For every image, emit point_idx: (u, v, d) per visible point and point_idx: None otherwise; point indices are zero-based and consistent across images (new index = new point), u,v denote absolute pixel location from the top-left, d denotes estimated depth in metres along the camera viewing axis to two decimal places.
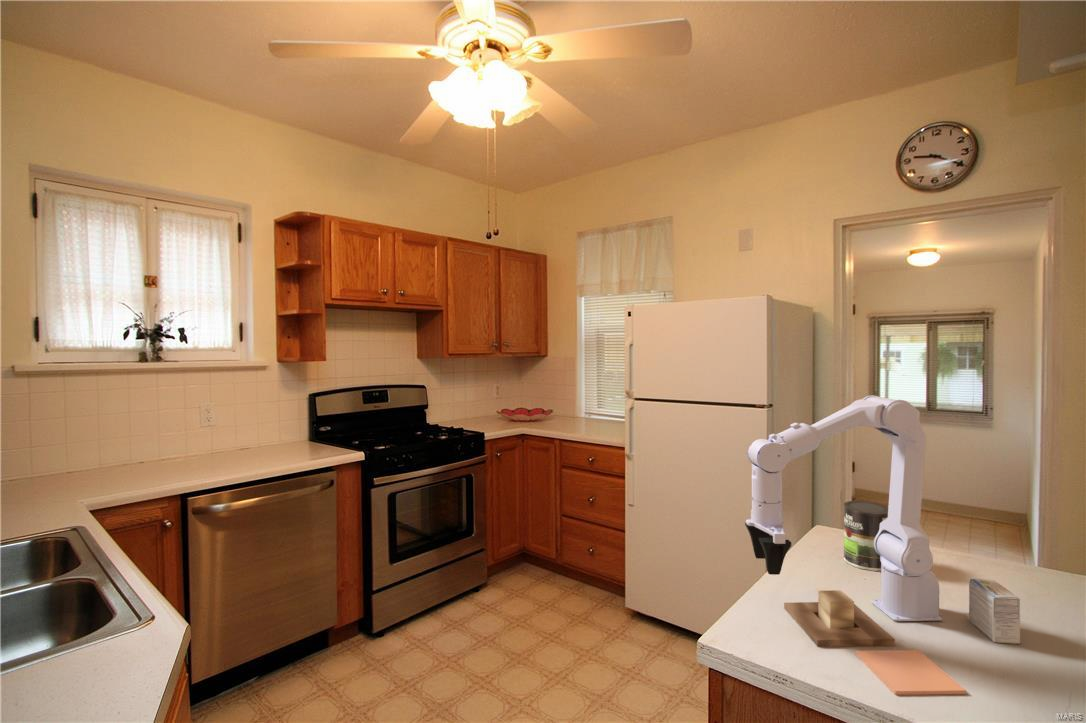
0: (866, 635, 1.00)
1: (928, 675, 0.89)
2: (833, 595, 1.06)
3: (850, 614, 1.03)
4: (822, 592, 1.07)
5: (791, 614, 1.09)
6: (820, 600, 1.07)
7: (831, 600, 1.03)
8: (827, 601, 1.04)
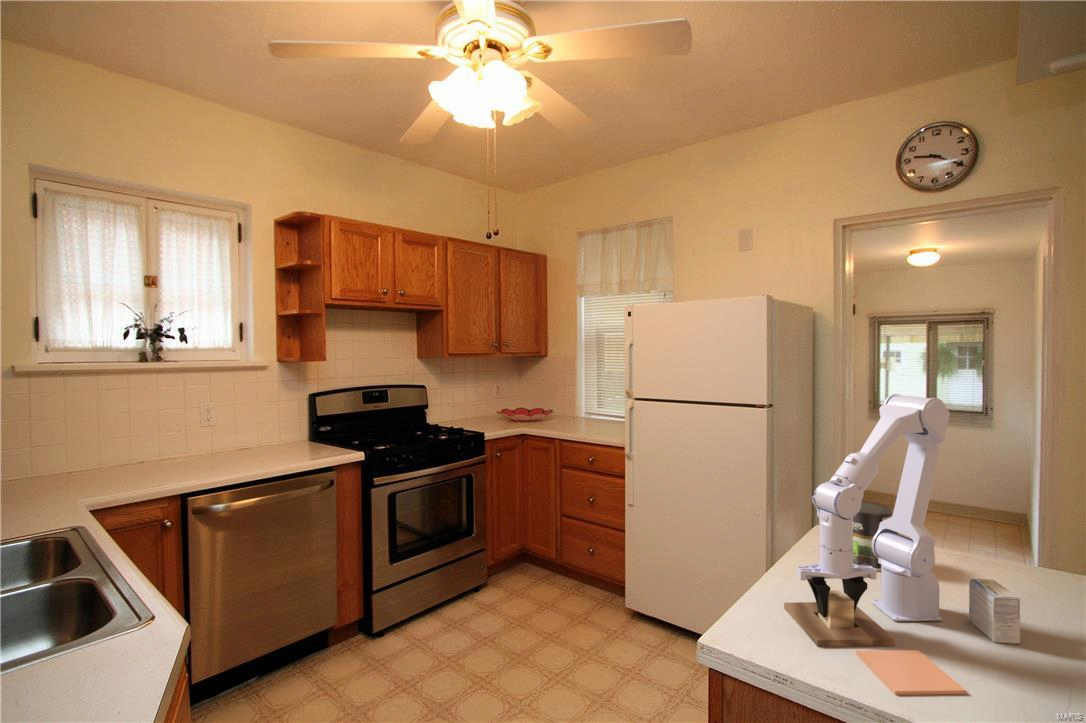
0: (866, 635, 1.00)
1: (928, 675, 0.89)
2: (833, 594, 1.06)
3: (850, 614, 1.03)
4: None
5: (791, 614, 1.09)
6: None
7: (831, 600, 1.03)
8: None
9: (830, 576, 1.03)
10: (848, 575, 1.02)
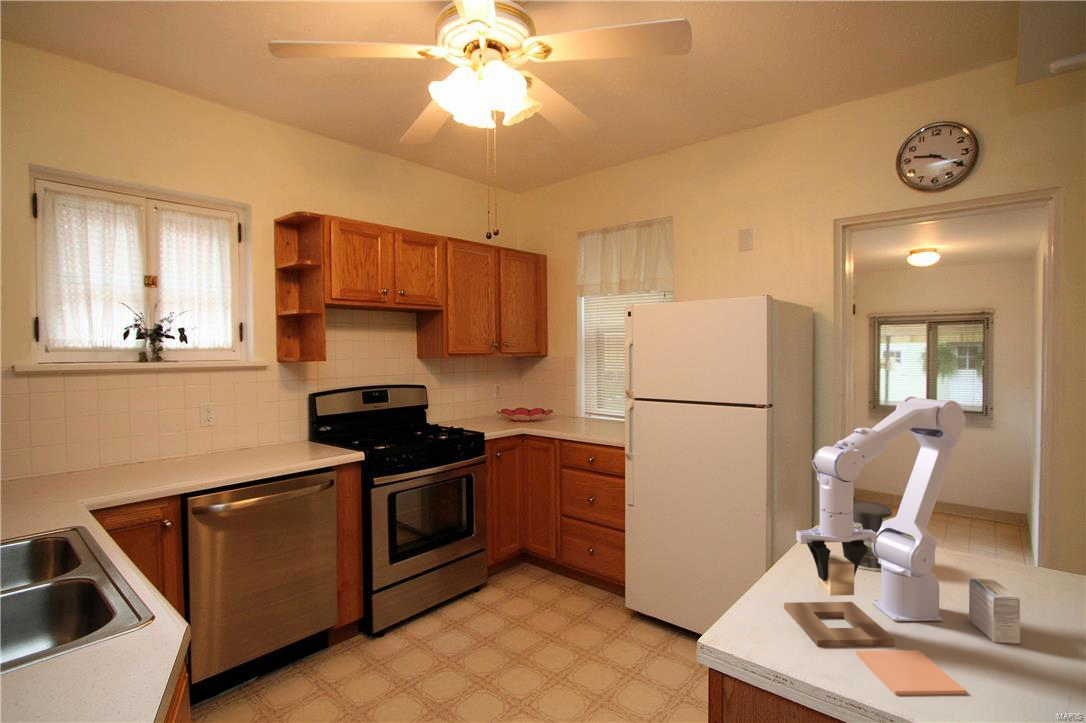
0: (866, 635, 1.00)
1: (928, 675, 0.89)
2: (833, 559, 1.05)
3: (850, 577, 1.03)
4: None
5: (791, 614, 1.09)
6: None
7: (831, 563, 1.03)
8: None
9: (830, 539, 1.02)
10: (848, 537, 1.02)
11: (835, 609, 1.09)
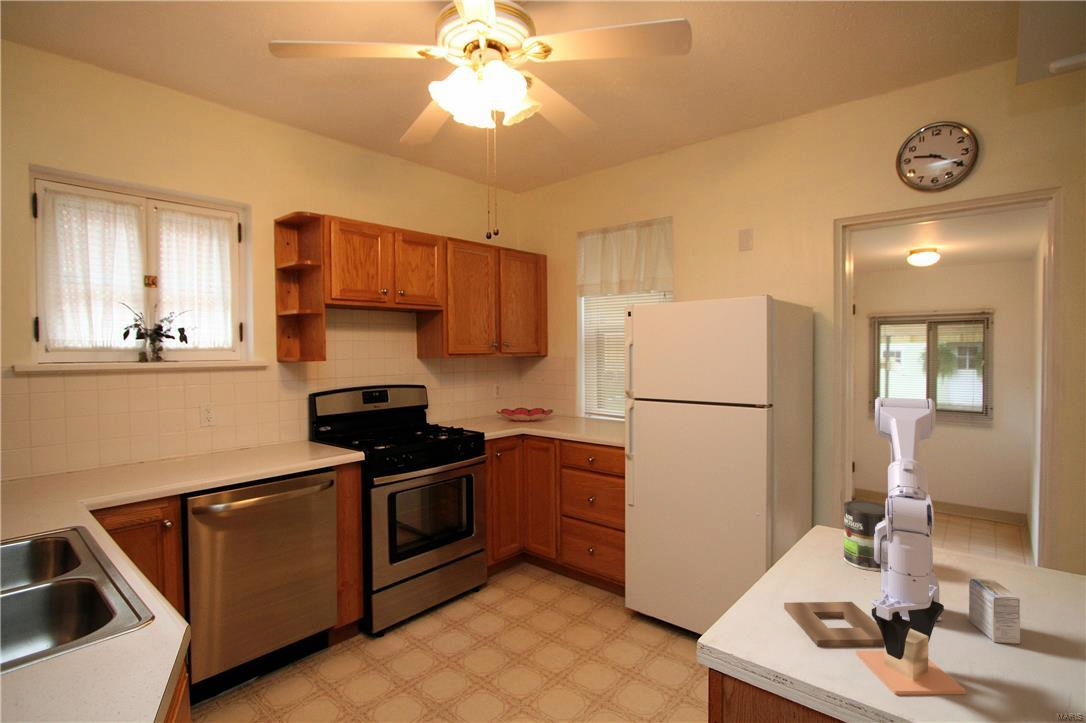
0: (866, 635, 1.00)
1: (928, 675, 0.89)
2: None
3: (926, 652, 0.89)
4: None
5: (791, 614, 1.09)
6: None
7: (912, 641, 0.88)
8: (906, 644, 0.88)
9: (915, 608, 0.87)
10: (930, 602, 0.88)
11: (835, 609, 1.09)
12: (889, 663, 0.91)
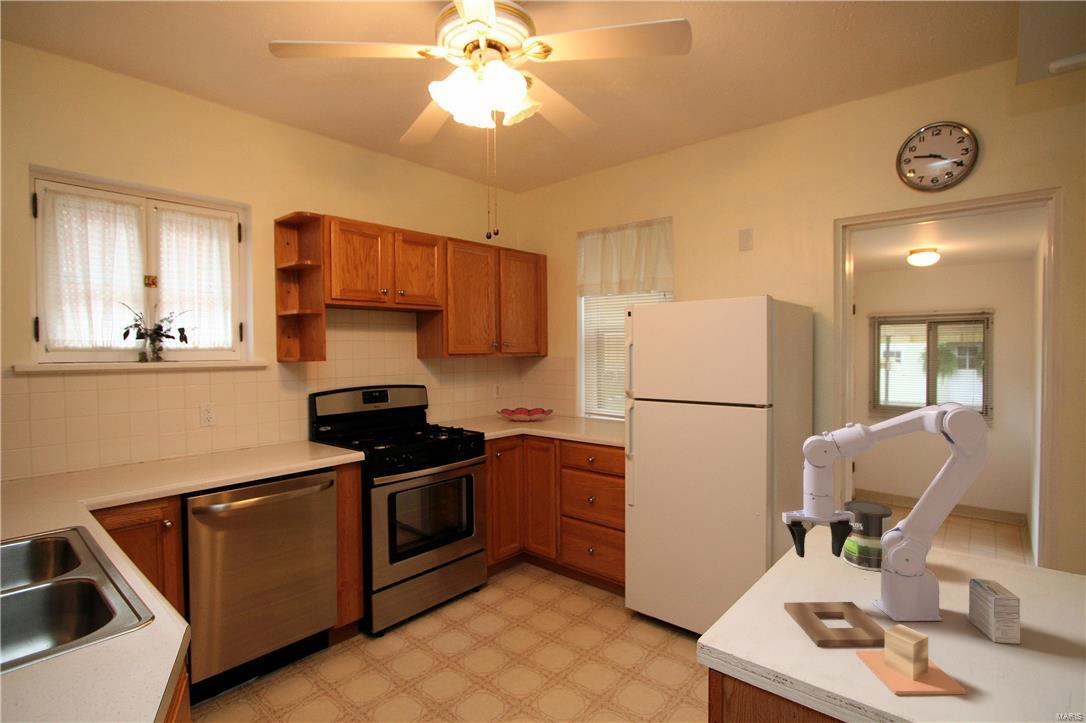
0: (866, 635, 1.00)
1: (928, 675, 0.89)
2: (903, 633, 0.90)
3: (926, 652, 0.89)
4: (890, 632, 0.91)
5: (791, 614, 1.09)
6: (888, 642, 0.91)
7: (912, 641, 0.88)
8: (906, 644, 0.88)
9: (812, 519, 1.13)
10: (828, 518, 1.13)
11: (835, 609, 1.09)
12: (889, 663, 0.91)
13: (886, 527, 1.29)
